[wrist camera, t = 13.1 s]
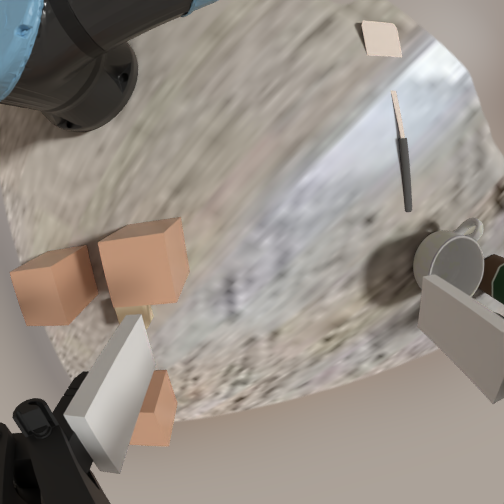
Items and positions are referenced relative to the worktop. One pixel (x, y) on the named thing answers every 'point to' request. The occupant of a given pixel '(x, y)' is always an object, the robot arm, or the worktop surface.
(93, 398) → the robot arm
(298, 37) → the worktop surface
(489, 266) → the beer bottle
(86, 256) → the peach colored cube
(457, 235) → the teacup
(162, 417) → the tan peach cube
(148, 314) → the beige cube
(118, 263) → the smooth terracotta cube
